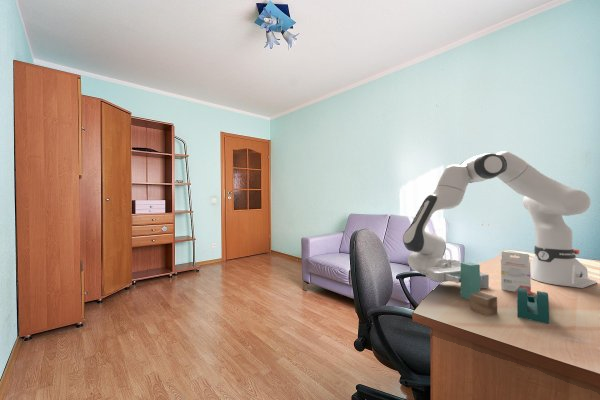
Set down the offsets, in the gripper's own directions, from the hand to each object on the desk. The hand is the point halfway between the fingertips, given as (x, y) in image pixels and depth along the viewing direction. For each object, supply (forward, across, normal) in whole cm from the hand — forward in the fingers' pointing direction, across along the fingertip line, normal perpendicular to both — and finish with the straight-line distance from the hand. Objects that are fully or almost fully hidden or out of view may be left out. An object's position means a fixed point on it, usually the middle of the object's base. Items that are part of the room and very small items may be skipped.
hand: (470, 279), depth 91 cm
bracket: (+13, +9, +7) cm, 18 cm away
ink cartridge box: (-1, +23, +7) cm, 24 cm away
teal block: (0, 0, +6) cm, 7 cm away
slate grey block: (-9, +14, +7) cm, 18 cm away
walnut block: (+10, -6, +7) cm, 13 cm away
